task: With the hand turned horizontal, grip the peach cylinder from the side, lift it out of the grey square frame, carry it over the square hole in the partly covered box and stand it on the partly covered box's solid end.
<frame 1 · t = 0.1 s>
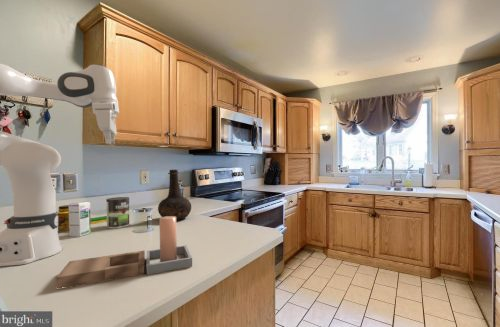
hand: (110, 144, 93), 39 cm above the worktop, tool pointing down, fingers open, 8 cm apart
coffee can: (118, 226, 122), on the worktop
condiment: (67, 230, 115), on the worktop
partly covered box: (106, 272, 69), on the worktop
syrup box: (80, 235, 107), on the worktop
dish sponge: (101, 222, 133), on the worktop
dark brown vase: (175, 219, 136), on the worktop
peach cylinder: (168, 240, 75), in the grey square frame
grey square frame: (168, 262, 75), on the worktop
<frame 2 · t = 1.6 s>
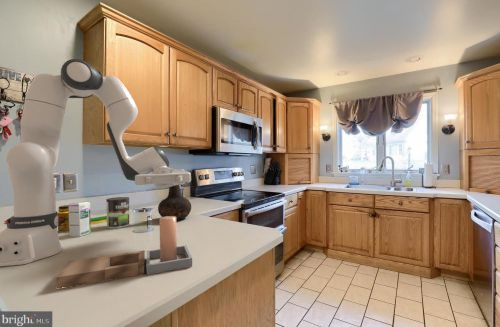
hand: (164, 179, 87), 25 cm above the worktop, tool horizontal, fingers open, 8 cm apart
nothing on the worktop moved.
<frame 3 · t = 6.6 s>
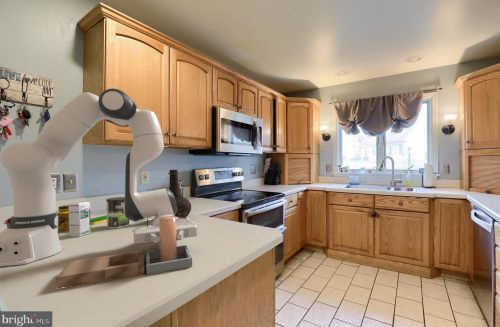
hand: (168, 239, 75), 8 cm above the worktop, tool horizontal, fingers closed on peach cylinder, 5 cm apart
peach cylinder: (168, 240, 75), in the grey square frame, touching gripper
when the fingers open (12 cm above the worktop, at t = 12.9 s): peach cylinder drops 1 cm, resting on partly covered box.
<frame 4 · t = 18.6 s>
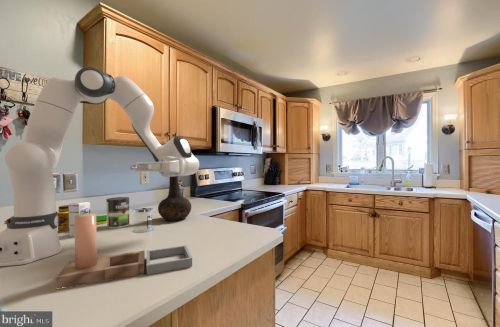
hand: (138, 167, 89), 30 cm above the worktop, tool horizontal, fingers open, 8 cm apart
peach cylinder: (85, 240, 67), on the partly covered box, point 10 cm above the worktop
at the end: peach cylinder inside the target area on the partly covered box (0.1 cm from its centre), point 10.0 cm above the partly covered box's base; peach cylinder tilted 0°; the gripper is holding nothing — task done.
